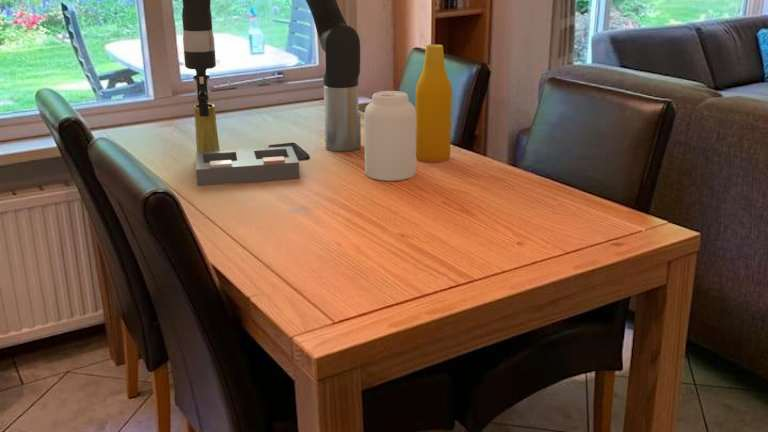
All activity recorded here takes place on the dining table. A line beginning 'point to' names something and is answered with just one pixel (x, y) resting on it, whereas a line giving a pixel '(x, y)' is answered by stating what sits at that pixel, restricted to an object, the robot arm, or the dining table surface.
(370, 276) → the dining table surface
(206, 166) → the socket block
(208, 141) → the vase
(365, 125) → the white jar
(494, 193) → the dining table surface
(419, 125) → the beer bottle
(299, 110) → the dining table surface
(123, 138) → the dining table surface
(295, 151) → the phone
